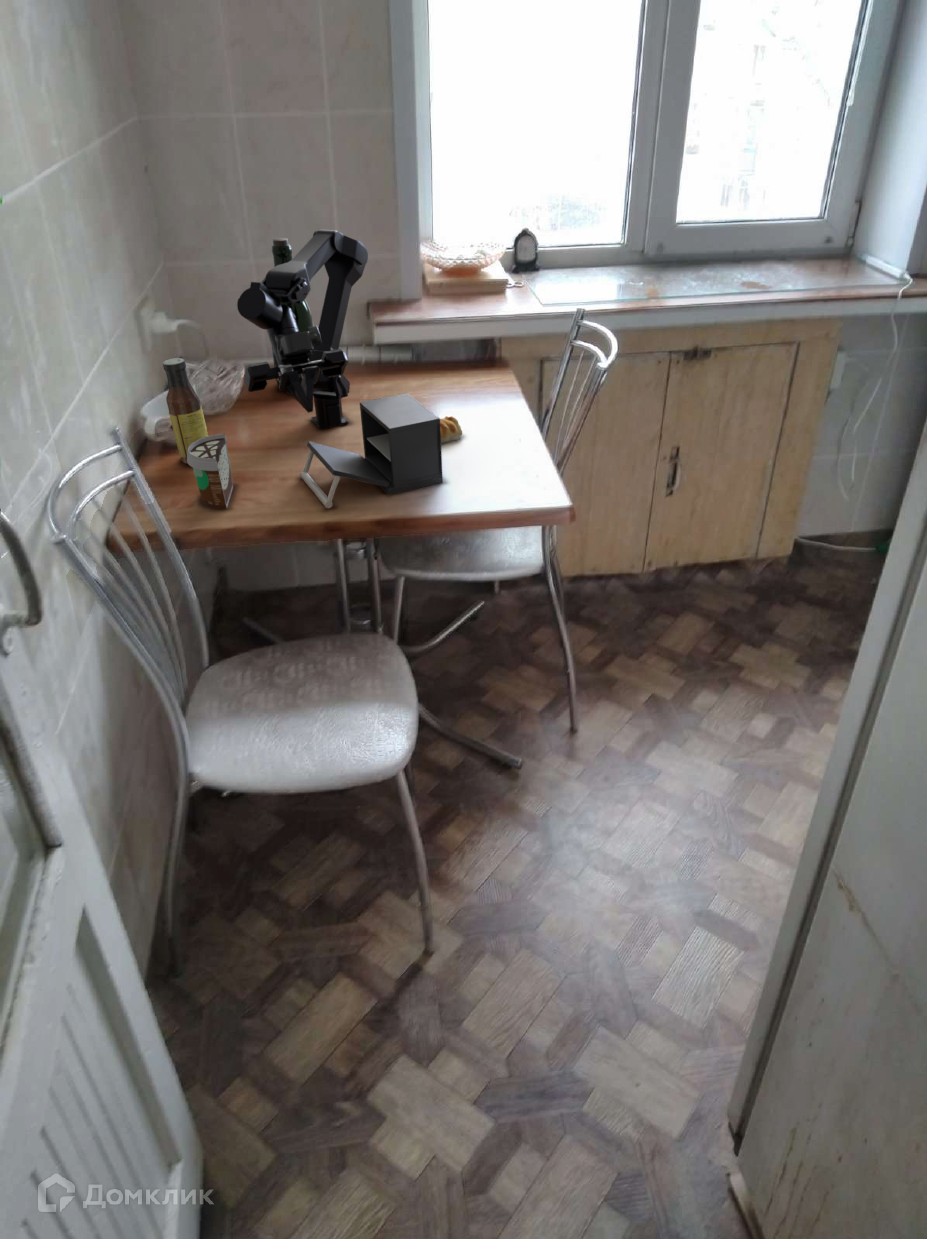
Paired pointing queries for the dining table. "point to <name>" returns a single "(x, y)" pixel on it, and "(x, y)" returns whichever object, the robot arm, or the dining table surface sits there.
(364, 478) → the oven door
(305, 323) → the green wine bottle
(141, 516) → the dining table surface
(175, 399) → the sauce bottle
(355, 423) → the dining table surface
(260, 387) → the robot arm
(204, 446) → the food container
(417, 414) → the oven
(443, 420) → the pastry
